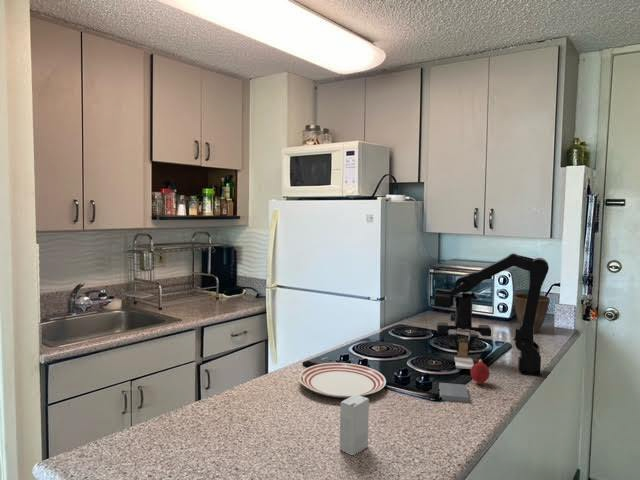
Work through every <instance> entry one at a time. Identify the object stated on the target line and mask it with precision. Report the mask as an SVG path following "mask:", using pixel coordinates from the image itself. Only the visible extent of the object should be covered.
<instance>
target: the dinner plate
mask: <svg viewBox="0 0 640 480" xmlns="http://www.w3.org/2000/svg"><path fill="white" fill-rule="evenodd" d="M298 380H299V382H300V383H301V385H303V386H304V387H305V388H307V389H308V390H311V391H312V392H314V393H316V394H318V395H319V394H320V395H323V396H327V397H331V398H336V399H337V398H341V399H348V398H349V397H351V396H353V395H359V396H362V397H365V396H368V395H372V394H375V393H377V392H380V391H381V390H382V389H384V387H385V386H386V384H387V380H386V377H385V376H384V375H383V374H382V373H381V372H379V371H377V369H374V368H370V367H368V366H365V365H361V364H354V363H348V362H325V363H320V364H319V363H318V364H315V365H312V366H308V367H307V368H305V369H303V370H302V371H301V372H300V373H299V375H298Z"/></svg>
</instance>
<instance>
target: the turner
mask: <svg viewBox="0 0 640 480" xmlns="http://www.w3.org/2000/svg"><path fill="white" fill-rule="evenodd" d="M458 347H459V351H458V352H457V356H453V357H454V358H453V359H454V363H455V368H456V369H463V370H464V369H466V370H471V368H472V366H473V365H474V364H475V363H474V361H473V358H472V357H468V355H469V354H468V353H469V352H468V338H467V339H465V338H458Z"/></svg>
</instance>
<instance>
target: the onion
mask: <svg viewBox="0 0 640 480" xmlns="http://www.w3.org/2000/svg"><path fill="white" fill-rule="evenodd" d="M490 374H491V373H490V370H489V367H488V366H487V365H486V364H485V363H484V362H483V360H482V359H479V360H478V361H477V362H476V363H474V365H473V366H472V368H471V369H470V376H471V379H472V380H473V381H475V383H476V384H477V385H482V384H484V383H485V382H486V381H488V380H489V378H490Z"/></svg>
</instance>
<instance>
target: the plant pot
mask: <svg viewBox="0 0 640 480" xmlns="http://www.w3.org/2000/svg"><path fill="white" fill-rule="evenodd" d="M527 297H528V293H516V294H513V299H514V308H515V309H514V310H515V313H516V318H517V322H518V326H521V324H522V322H523V318H524V312H525V307H526V302H527ZM550 301H551V298H550V297H548V296H546V295H541V294H540V296H539V301H538V306H537V311H536V316H535V321H534V334H538V333H539V332H540V330H541V328H542V326H543V324H544V322H545V318H546V316H547V312H548V310H549V305H550Z"/></svg>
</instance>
